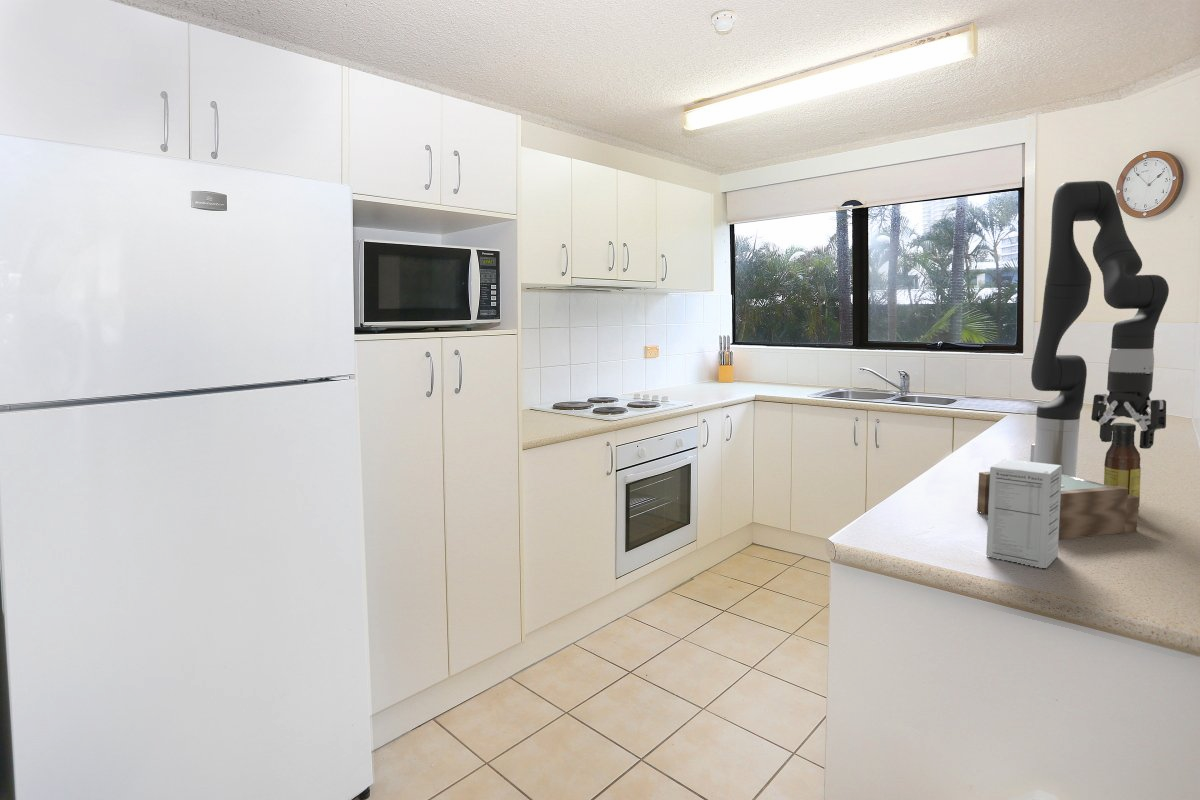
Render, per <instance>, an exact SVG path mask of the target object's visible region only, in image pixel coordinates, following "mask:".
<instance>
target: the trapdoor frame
mask: <svg viewBox="0 0 1200 800" xmlns="http://www.w3.org/2000/svg"><path fill="white" fill-rule="evenodd" d="M989 486H990V471H983V472H978V485H977V488H978V489H977V507H976V512H977V511H978V512H981V513H983V514H982V515H984V514H985V515H988V504H989ZM1139 509H1140V506H1139V497H1136V496H1132V495H1128V488H1124V487H1120V486H1113V487H1101V488H1088V489H1076V490H1063V491H1061V498H1060V518H1059V539H1058V540H1061V539H1073V538H1074V537H1075V538H1082V537H1083V538H1084V536H1085V537H1095V536H1102V535H1103V536H1105V535H1113V534H1115V535H1116V534H1124V533H1125V534H1126V533H1134V532H1135V531H1136V532H1137V531H1138V530H1137V529H1138V520H1139V519H1138V517H1139V511H1138V510H1139ZM978 512H977V513H978ZM981 513H980V514H981Z"/></svg>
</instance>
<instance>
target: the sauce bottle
mask: <svg viewBox="0 0 1200 800" xmlns="http://www.w3.org/2000/svg"><path fill="white" fill-rule="evenodd" d="M1111 425H1112V441H1111V444H1110V446H1109V448H1108V449H1107V451H1106V452H1105V453H1106V454H1105V458H1104V466H1103V467H1104V471H1103V484H1104V485H1108V486H1112V487H1113V486H1120V487H1124V488H1128V495H1132V496H1136V497H1139V507H1140V506H1141V505H1140V503H1141V502H1140V501H1141V500H1140V499H1141V495H1140V494H1141V471H1142V467H1141V453H1140V452H1139V451H1138V448H1137V447H1136V445H1135V433H1136V430H1137V426H1136V424H1135V423H1128V422H1113V423H1112V424H1111ZM1138 512H1139V509H1138Z"/></svg>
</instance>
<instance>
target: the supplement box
mask: <svg viewBox="0 0 1200 800" xmlns="http://www.w3.org/2000/svg"><path fill="white" fill-rule="evenodd" d="M989 472H990V486H989V504H988V514H987V533H986V535H987V536H986V555H987V556H989V557H993V558H992V559H994V558H998V559H997V560H999V559H1003V560H1002V561H1004V560H1008V561H1012V562H1011V563H1013V562H1017V563H1016V564H1018V563H1021V564H1020V565H1023V564H1025V565H1024V566H1028V565H1030V566H1029V567H1033V566H1035V567H1034V568H1037V567H1039V568H1038V569H1042V568H1046V569H1047V568H1048V567H1049V566H1050V565H1051V564H1052V563H1053V562H1054V561H1055V559H1056V558H1057V557H1058V555H1059V540H1060V539H1059V518H1060V498H1061V478H1062V465H1054V464H1045V463H1036V462H1030V461H1025V460H1016V459H1007V458H1006V459H1003V460H1001V461H999V462H996V463H995V464H994V465H992V466H990V467H989ZM989 557H988V558H989ZM1008 561H1007V562H1008Z"/></svg>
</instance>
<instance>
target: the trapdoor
mask: <svg viewBox="0 0 1200 800" xmlns="http://www.w3.org/2000/svg"><path fill="white" fill-rule="evenodd" d="M1101 487H1112V486H1108V485H1104V483H1099V482H1097V481H1096V482H1095V481H1091V480H1087V479H1084V478H1078V477H1076V478H1075V477H1071V476H1067V475H1063V474H1062V478H1061V491H1063V490H1076V489H1088V488H1101Z"/></svg>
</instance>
